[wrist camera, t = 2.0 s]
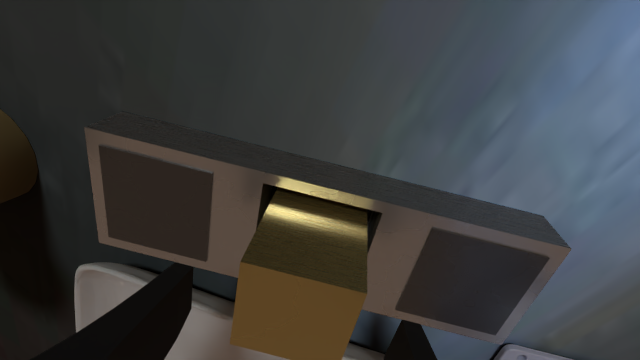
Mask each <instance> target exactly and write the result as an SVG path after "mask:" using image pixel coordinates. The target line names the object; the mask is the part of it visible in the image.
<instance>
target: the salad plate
mask: <svg viewBox="0 0 640 360" xmlns="http://www.w3.org/2000/svg"><path fill="white" fill-rule="evenodd" d="M158 275H159V274H156V273H152V272H149V271H146V270H143V269H140V268H137V267H134V266H129V265H124V264H119V263H111V262H98V263H89V264H84V265H81V266H79V267H78V269H77V270H76V274H75V289H74V296H75V320H76V333H77V332H78V331H80V330H81V329H83V328H84V327H86V326H87V325H89V324H91V323H92V322H94V321H95V320H97V319H98V318H100V317H101V316H103V315H104V314H106V313H107V312H109V311H110V310H112V309H113V308H115V307H116V306H117V305H119V304H120V303H122V302H123V301H124V300H126V299H127V298H129V297H130V296H131V295H133V294H134V293H136V292H137V291H138V290H140V289H141V288H142V287H144V286H145V285H146V284H148V283H149V282H150V281H152V280H153V279H154V278H155V277H157V276H158ZM234 307H235V303H234V302H231V301H228V300H226V299H223V298H220V297H217V296H214V295H212V294H209V293H206V292H203V291H200V290H198V289H195V288H192V309H191V311H190V313H189V315H188V317H187V319H186V321H185V324H184V326H183V328H182V330H181V332H180V334H179V336H178V338H177V340H176V341H175V343H174V345H173V346H172V348H171V349H170V351H169V353H168V354H167V356H166V358H165V359H164V360H290V359H286V358H282V357H278V356H274V355H270V354H266V353H262V352H258V351H254V350H251V349H247V348H243V347H239V346H235V345H231V344H230V338H231V330H232V322H233V314H234ZM384 356H385V354H382V353H379V352H376V351H373V350H369V349H366V348H363V347H360V346H357V345H354V344H351V343H348V345H347V347H346V350H345V352H344V355H343V358H342V360H384Z"/></svg>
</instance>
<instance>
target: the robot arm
mask: <svg viewBox="0 0 640 360" xmlns="http://www.w3.org/2000/svg"><path fill="white" fill-rule="evenodd" d="M192 284H193V267H191V266H187V265H183V264H179V263H174V264H172V265H171V266H170V267H168V268H167V269H166V270H165V271H163V272H162V273H161V274H159V275H158V276H157V277H155V278H154V279H153V280H152V281H150V282H149V283H148V284H146V285H145V286H144V287H142V288H141V289H140V290H138V291H137V292H136V293H134V294H133V295H131V296H130V297H129V298H127V299H126V300H124V301H123V302H122V303H120V304H119V305H117V306H116V307H115V308H113V309H112V310H110V311H109V312H107V313H106V314H104V315H103V316H101V317H100V318H98V319H97V320H95V321H94V322H92V323H91V324H89V325H87V326H86V327H84V328H83V329H81V330H80V331H78V332H77V333H75V334H73V335H72V336H70V337H68V338H67V339H65V340H63V341H62V342H60V343H58V344H57V345H55V346H53V347H51V348H50V349H48V350H46V351H44V352H43V353H41V354H39V355H37V356H35V357H34V358H32V359H30V360H164V359H165V358H166V356H167V354H168V353H169V351H170V349H171V348H172V346H173V345H174V343H175V341H176V340H177V338H178V336H179V334H180V332H181V330H182V328H183V326H184V324H185V321H186V319H187V317H188V315H189V313H190V311H191V309H192ZM384 360H437V358H436V356H435V354H434V352H433V350H432V348H431V345H430V343H429V341H428V339H427V337H426V335H425V333H424V330H423V328H422V326H421V325H420V324H418V323H414V322H410V321H406V320H402V321H401V323H400V325H399V327H398V329H397V331H396V333H395V335H394V337H393V339H392V341H391V343H390V345H389V348H388V350H387V352H386V354H385V356H384ZM494 360H573V359H569V358H566V357H562V356H558V355H554V354H550V353H546V352H542V351H538V350H534V349H530V348H526V347H522V346H518V345H514V344H507V345H505V346H504V347H503V348H502V349H501V350H500V352H499V353H498V354H497V356H496V357H495V358H494Z"/></svg>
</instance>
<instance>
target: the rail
mask: <svg viewBox="0 0 640 360" xmlns="http://www.w3.org/2000/svg"><path fill="white" fill-rule="evenodd" d="M84 129H85V137H86V144H87V152H88V160H89V168H90V175H91V183H92V191H93V198H94V206H95V214H96V222H97V229H98V237H99V243H103V244H107V245H111V246H115V247H119V248H123V249H127V250H131V251H134V252H138V253H142V254H146V255H150V256H154V257H158V258H162V259H166V260H170V261H174V262H178V263H182V264H185V265H189V266H193V267H197V268H201V269H205V270H209V271H213V272H217V273H221V274H225V275H229V276H233V277H236V278H238V275H239V268H240V261H241V259H242V257H243V255H244V253H245V251H246V249H247V247H248V245H249V243H250V241H251V239H252V237H253V235H254V233H255V232H256V230H257V228H258V226H259V224H260V222H261V220H262V218H263V216H264V214H265V212H266V210H267V208H268V206H269V204H270V199H271V193H272V187H273V186H277V187H281V188H285V189H289V190H293V191H297V192H301V193H305V194H309V195H313V196H317V197H321V198H325V199H329V200H333V201H337V202H341V203H345V204H349V205H353V206H357V207H361V208H365V209H369V210H372V212H371V215H370V218H369V221H368V224H367V296H366V299H365V301H364V304H363V306H362V310H366V311H370V312H374V313H378V314H382V315H386V316H390V317H393V318H397V319H401V320H406V321H410V322H414V323H418V324H421V325H425V326H429V327H433V328H437V329H441V330H444V331H448V332H452V333H456V334H460V335H464V336H468V337H472V338H476V339H480V340H484V341H488V342H492V343H495V344H499V345H502V344H503V342H504V341H505V339H506V338H507V337H508V335H509V334H510V333H511V331H512V330H513V329H514V327H515V326H516V324H517V323H518V322H519V320H520V319H521V318H522V316H523V315H524V313H525V312H526V311H527V309H528V308H529V307H530V305H531V304H532V303H533V301H534V300H535V298H536V297H537V296H538V294H539V293H540V292H541V290H542V289H543V288H544V286H545V285H546V283H547V282H548V281H549V279H550V278H551V277H552V275H553V274H554V272H555V271H556V270H557V268H558V267H559V266H560V264H561V263H562V262H563V260H564V259H565V257H566V256H567V255H568V253H569V252H570V251H571V248H570V247H569V245H568V244H567V243H566V242H565V241H564V240H563V238H562V237H561V236H560V235H559V234H558V233H557V231H556V230H555V229H554V228H553V227H552V226H551V224H550V223H549V222H548V221H547V220H546V219H545V217H544V216H541V215H537V214H533V213H529V212H525V211H521V210H517V209H513V208H509V207H505V206H501V205H497V204H493V203H489V202H485V201H481V200H477V199H473V198H469V197H465V196H461V195H457V194H453V193H449V192H445V191H441V190H437V189H433V188H429V187H425V186H421V185H417V184H413V183H409V182H405V181H401V180H397V179H393V178H389V177H385V176H381V175H377V174H373V173H369V172H365V171H361V170H357V169H353V168H348V167H344V166H340V165H336V164H332V163H328V162H324V161H320V160H316V159H312V158H308V157H304V156H300V155H296V154H292V153H288V152H284V151H280V150H276V149H272V148H268V147H264V146H260V145H256V144H252V143H248V142H244V141H240V140H236V139H232V138H228V137H224V136H220V135H216V134H212V133H208V132H204V131H200V130H196V129H192V128H188V127H184V126H180V125H176V124H172V123H168V122H164V121H160V120H156V119H152V118H148V117H144V116H140V115H135V114H131V113H127V112H120V113H118V114H115V115H113V116H110V117H108V118H106V119H103V120H101V121H98V122H96V123H93V124H91V125H89V126H86V127H84Z"/></svg>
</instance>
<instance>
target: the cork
mask: <svg viewBox="0 0 640 360" xmlns="http://www.w3.org/2000/svg"><path fill="white" fill-rule="evenodd" d="M37 173H38V167H37V162H36V157H35V153H34V151H33V149H32V147H31V145H30V143H29V141H28V139H27V137H26V136H25V134H24V133H23V132H22V131H21V129H20V128H19V127H18V126H17V124H16V123H15V122H14V121H13V120H12V119H11V118H10V117H9V116H8V115H7V114H5V113H4V112H3V111H2V110H1V109H0V203H3V202H5V201H8V200H10V199H13V198H16V197H18V196H20V195H23V194H25V193H27V192H29V191H30V190H31V188H32V187H33V186H34V184H35V183H36V179H37Z"/></svg>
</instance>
